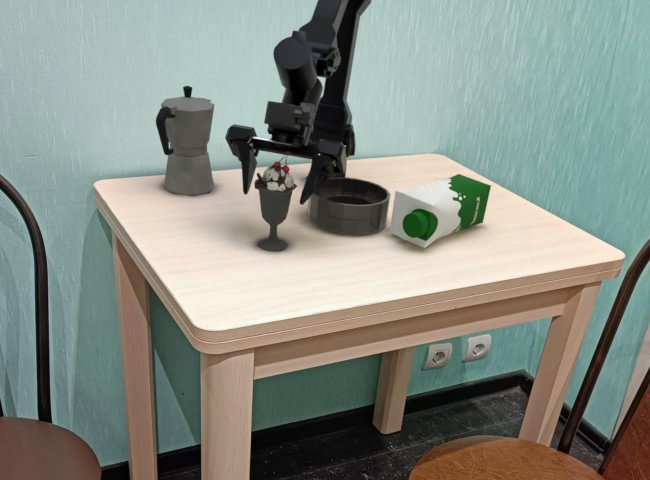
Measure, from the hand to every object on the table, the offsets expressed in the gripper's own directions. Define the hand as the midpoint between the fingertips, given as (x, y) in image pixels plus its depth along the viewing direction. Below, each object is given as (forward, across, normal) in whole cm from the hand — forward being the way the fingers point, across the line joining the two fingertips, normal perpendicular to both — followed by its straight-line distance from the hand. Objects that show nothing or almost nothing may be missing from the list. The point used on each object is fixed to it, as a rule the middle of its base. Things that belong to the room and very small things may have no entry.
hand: (272, 198), depth 118 cm
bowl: (-6, +8, +18) cm, 21 cm away
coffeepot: (-7, -23, +19) cm, 31 cm away
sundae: (+5, 0, +7) cm, 9 cm away
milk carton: (-17, +29, +22) cm, 40 cm away
